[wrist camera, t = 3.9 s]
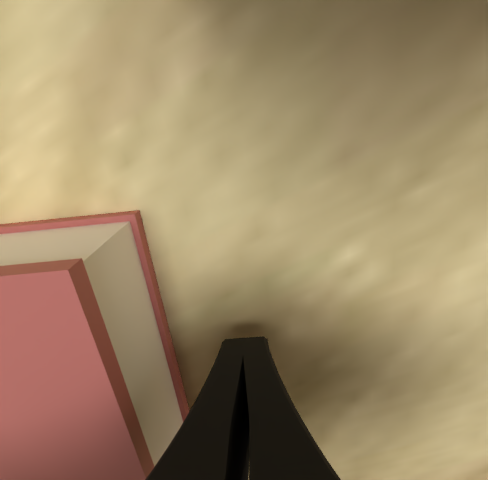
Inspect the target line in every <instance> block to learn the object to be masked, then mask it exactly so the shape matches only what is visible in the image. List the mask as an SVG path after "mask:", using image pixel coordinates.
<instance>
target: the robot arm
mask: <svg viewBox="0 0 488 480" xmlns="http://www.w3.org/2000/svg"><path fill="white" fill-rule="evenodd" d="M249 457H250V459H249ZM248 474H249V480H340V478H339V477H338V475H337V474H336V472H335V471H334V469H333V468H332V467H331V465H330V464H329V462H328V461H327V459H326V458H325V456H324V455H323V453H322V451H321V450H320V448H319V447H318V445H317V444H316V442H315V441H314V439H313V437H312V436H311V434H310V432H309V431H308V429H307V427H306V426H305V424H304V422H303V420H302V419H301V417H300V415H299V413H298V412H297V410H296V408H295V406H294V404H293V402H292V400H291V399H290V397H289V395H288V393H287V391H286V388H285V386H284V384H283V382H282V380H281V378H280V376H279V374H278V371H277V369H276V366H275V364H274V361H273V359H272V356H271V353H270V350H269V346H268V341H267V339H266V338H265V337H250V338H237V339H225V340H224V341H223V342H222V345H221V348H220V351H219V353H218V356H217V358H216V360H215V363H214V365H213V367H212V369H211V371H210V374H209V376H208V378H207V380H206V382H205V384H204V386H203V388H202V390H201V392H200V393H199V395H198V397H197V399H196V401H195V403H194V405H193V406H192V408H191V410H190V411H189V413H188V415H187V417H186V418H185V420H184V422H183V424H182V425H181V427H180V429H179V430H178V432H177V433H176V435H175V437H174V438H173V440H172V441H171V443H170V444H169V446H168V448H167V449H166V451H165V452H164V453H163V455H162V456H161V458H160V459H159V461H158V462H157V464H156V465H155V467H154V468H153V470H152V471H151V472H150V474H149V475H148V476H147V478H146V479H145V480H248Z"/></svg>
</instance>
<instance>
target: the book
mask: <svg viewBox="0 0 488 480" xmlns="http://www.w3.org/2000/svg"><path fill="white" fill-rule="evenodd" d="M188 413H189V408H188V404H187V400H186V396H185V392H184V388H183V384H182V380H181V376H180V371H179V367H178V363H177V359H176V355H175V351H174V347H173V343H172V339H171V335H170V331H169V327H168V323H167V319H166V315H165V311H164V307H163V303H162V299H161V295H160V291H159V287H158V283H157V279H156V275H155V271H154V267H153V263H152V259H151V255H150V251H149V247H148V243H147V239H146V235H145V231H144V227H143V223H142V219H141V215H140V211H139V210H137V211H128V212H118V213H108V214H98V215H88V216H78V217H69V218H59V219H49V220H39V221H29V222H19V223H10V224H0V480H145V479H146V478H147V476H148V475H149V474H150V472H151V471H152V470H153V468H154V467H155V465H156V464H157V462H158V461H159V459H160V458H161V456H162V455H163V453H164V452H165V451H166V449H167V448H168V446H169V444H170V443H171V441H172V440H173V438H174V437H175V435H176V433H177V432H178V430H179V429H180V427H181V425H182V424H183V422H184V420H185V418H186V417H187V415H188Z"/></svg>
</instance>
